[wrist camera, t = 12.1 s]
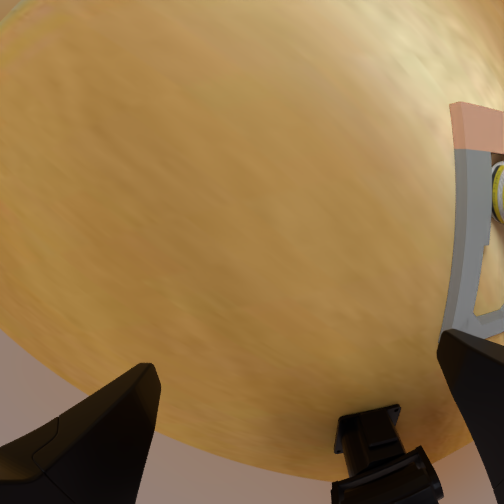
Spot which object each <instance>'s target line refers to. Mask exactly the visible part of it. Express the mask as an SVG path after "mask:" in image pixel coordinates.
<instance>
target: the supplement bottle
mask: <svg viewBox="0 0 504 504" xmlns="http://www.w3.org/2000/svg"><path fill="white" fill-rule="evenodd" d="M491 216H492V217H493V218H494V219H495V220H496V221H497V222H499V223H501V224H504V161H500V162H497V163H496V164H495V165H494V166H493V167H492V211H491Z"/></svg>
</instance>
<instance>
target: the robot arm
mask: <svg viewBox="0 0 504 504" xmlns="http://www.w3.org/2000/svg"><path fill="white" fill-rule="evenodd" d="M437 359H438V362H439V364H440V366H441V369H442V371H443V374H444V376H445V379H446V381H447V384H448V386H449V389H450V391H451V394H452V396H453V398H454V400H455V402H456V404H457V406H458V408H459V410H460V412H461V414H462V416H463V418H464V420H465V422H466V425H467V427H468V429H469V431H470V433H471V436H472V438H473V440H474V442H475V445H476V446H477V449H478V452H479V454H480V456H481V459H482V461H483V463H484V466H485V469H486V471H487V474H488V477H489V479H490V482H491V485H492V488H493V489H494V490H493V491H494V494H495V497H496V500H497V503H498V504H504V346H502V345H500V344H497V343H494V342H491V341H488V340H485V339H483V338H480V337H477V336H474V335H471V334H468V333H466V332H463V331H460V330H457V329H454V328H452V329H448V330H444V331H443V332H442V333H441V336H440V341H439V345H438V349H437ZM160 394H161V383H160V380H159V378H158V375H157V372H156V369H155V367H154V365H153V364H152V363H139V364H137V365H136V366H134V367H133V368H131V369H130V370H128V371H127V372H125V373H124V374H122V375H121V376H119V377H118V378H116V379H115V380H113V381H112V382H110V383H109V384H107V385H106V386H104V387H103V388H101V389H100V390H98V391H97V392H95V393H93V394H92V395H90V396H89V397H87V398H86V399H84V400H83V401H81V402H80V403H78V404H76V405H75V406H73V407H72V408H70V409H69V410H67V411H65V412H64V413H62V414H61V415H59V417H56V418H54V419H53V420H51V421H50V422H48V423H46V424H45V425H43V426H41V427H40V428H38V429H36V430H34V431H32V432H30V433H28V434H26V435H24V436H22V437H20V438H18V439H16V440H14V441H12V442H10V443H8V444H5V445H3V446H1V447H0V504H135V502H136V498H137V494H138V490H139V486H140V482H141V478H142V475H143V471H144V467H145V463H146V459H147V456H148V452H149V449H150V445H151V441H152V438H153V434H154V430H155V425H156V418H157V412H158V406H159V400H160ZM400 410H401V407H400V405H399V404H396V405H392V406H388V407H384V408H379V409H375V410H371V411H366V412H361V413H356V414H351V415H346V416H342V417H340V418H339V420H338V426H337V433H336V439H335V445H334V453H335V454H340V453H344V457H345V461H346V465H347V469H348V473H349V477H350V478H347V479H344V480H341V481H336V482H332V490H331V500H332V504H439V503H438V500H440V499H442V498H443V497H444V495H443V490H442V487H441V483H440V481H439V478H438V476H437V474H436V472H435V470H434V468H433V466H432V464H431V462H430V461H429V459H428V457H427V455H426V453H425V451H424V450H423V448H422V446H421V445H420V446H418V447H416V449H414V450H412V451H410V452H408V453H406V451H405V449H404V447H403V444H402V442H401V440H400V437H399V435H398V433H397V430H396V428H395V425H396V422H397V419H398V416H399V413H400Z"/></svg>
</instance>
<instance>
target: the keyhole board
mask: <svg viewBox="0 0 504 504" xmlns="http://www.w3.org/2000/svg"><path fill="white" fill-rule="evenodd" d="M449 106H450V113H451V121H452V129H453V139H454V152H455V171H456V218H455V237H454V249H453V260H452V269H451V277H450V284H449V290H448V297H447V303H446V308H445V314H444V319H443V323H442V328H441V333H442V332H443V331H444V330H448V329H452V328H454V329H457V330H460V331H463V332H466V333H468V334H471V335H474V336H477V337H480V338H483V339H485V338H488V337H491V336H494V335H496V334H499V333H501V332H504V304H503V306H502V307H501V308H500V310H497V311H494V312H491V313H488V314H484V315H481V316H478V317H476V316H475V315H474V313H473V310H474V305H475V300H476V295H477V290H478V284H479V278H480V272H481V265H482V258H483V249H484V246H485V245H489V239H490V228H491V211H492V164H491V153H494V154H501V155H504V112H502V111H498V110H494V109H491V108H487V107H483V106H479V105H474V104H470V103H465V102H456V103H452V104H449ZM441 333H440V336H441ZM439 341H440V337H439ZM439 341H438V343H439Z"/></svg>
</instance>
